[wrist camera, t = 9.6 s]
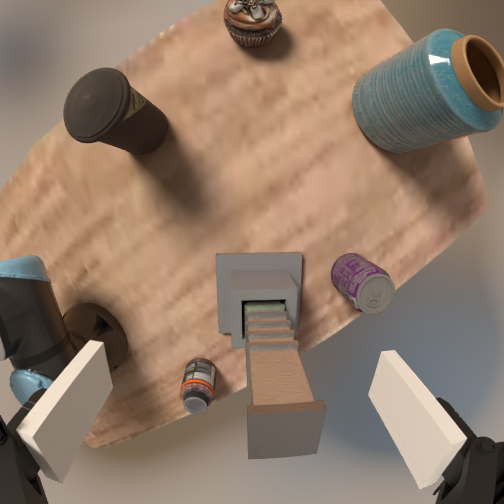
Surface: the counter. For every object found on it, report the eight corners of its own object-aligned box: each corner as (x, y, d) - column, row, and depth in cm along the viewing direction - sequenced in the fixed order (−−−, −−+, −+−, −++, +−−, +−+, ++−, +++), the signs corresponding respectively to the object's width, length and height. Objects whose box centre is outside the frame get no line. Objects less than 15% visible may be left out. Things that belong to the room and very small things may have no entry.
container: (179, 121, 44) (142, 80, 24) (149, 166, 45) (93, 154, 26) (140, 98, 42) (88, 54, 23) (111, 141, 44) (45, 121, 24)
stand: (219, 329, 52) (214, 365, 40) (216, 253, 49) (209, 273, 37) (296, 327, 52) (310, 362, 41) (300, 252, 49) (318, 271, 38)
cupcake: (218, 46, 41) (214, 18, 31) (231, 7, 39) (230, -23, 29) (273, 56, 42) (280, 29, 32) (283, 16, 40) (291, -14, 30)
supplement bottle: (207, 385, 54) (201, 423, 43) (181, 371, 53) (170, 408, 42) (222, 366, 53) (219, 404, 42) (195, 351, 53) (187, 387, 41)
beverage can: (358, 293, 51) (387, 320, 40) (324, 286, 51) (347, 313, 39) (370, 257, 50) (403, 276, 38) (336, 247, 49) (363, 265, 38)
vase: (424, 160, 47) (533, 155, 20) (348, 145, 46) (447, 114, 20) (422, 83, 43) (515, 43, 17) (348, 62, 42) (424, -13, 16)
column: (243, 333, 42) (248, 459, 19) (242, 297, 40) (247, 414, 18) (281, 332, 42) (316, 453, 19) (283, 296, 41) (326, 408, 18)
